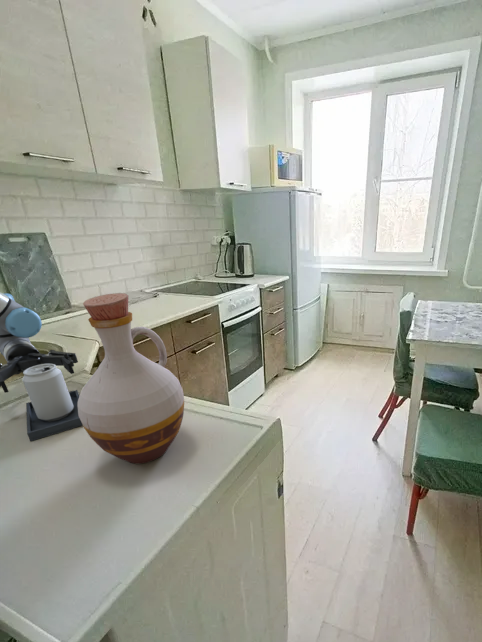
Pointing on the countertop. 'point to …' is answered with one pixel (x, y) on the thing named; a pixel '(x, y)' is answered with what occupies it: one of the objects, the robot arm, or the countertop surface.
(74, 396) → the tray
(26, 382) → the can
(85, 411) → the jug
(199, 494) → the countertop surface
